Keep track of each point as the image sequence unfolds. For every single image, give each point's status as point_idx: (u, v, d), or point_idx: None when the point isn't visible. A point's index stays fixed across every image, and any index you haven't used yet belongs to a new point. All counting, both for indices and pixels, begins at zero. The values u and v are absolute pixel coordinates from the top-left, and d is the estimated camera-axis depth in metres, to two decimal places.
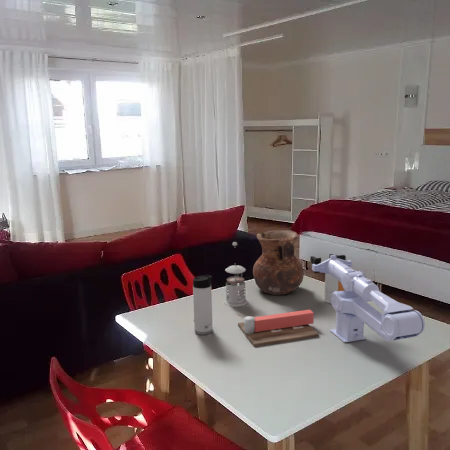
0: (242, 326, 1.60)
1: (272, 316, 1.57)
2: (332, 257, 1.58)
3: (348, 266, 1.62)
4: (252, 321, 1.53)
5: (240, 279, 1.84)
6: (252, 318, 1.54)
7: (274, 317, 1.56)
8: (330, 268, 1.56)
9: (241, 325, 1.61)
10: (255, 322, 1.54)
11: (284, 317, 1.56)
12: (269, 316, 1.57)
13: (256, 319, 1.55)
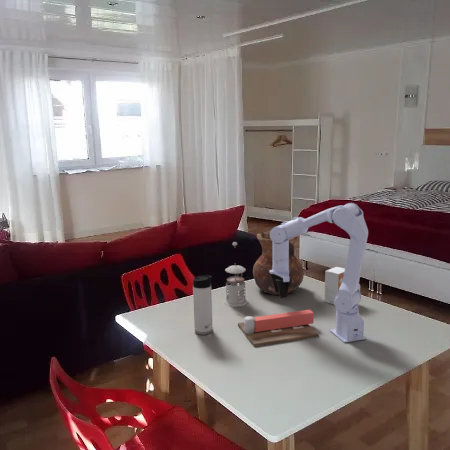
0: (242, 326, 1.60)
1: (272, 316, 1.57)
2: (271, 271, 1.63)
3: None
4: (252, 321, 1.53)
5: (240, 279, 1.84)
6: (252, 318, 1.54)
7: (274, 317, 1.56)
8: (280, 264, 1.61)
9: (241, 325, 1.61)
10: (255, 322, 1.54)
11: (284, 317, 1.56)
12: (269, 316, 1.57)
13: (256, 319, 1.55)
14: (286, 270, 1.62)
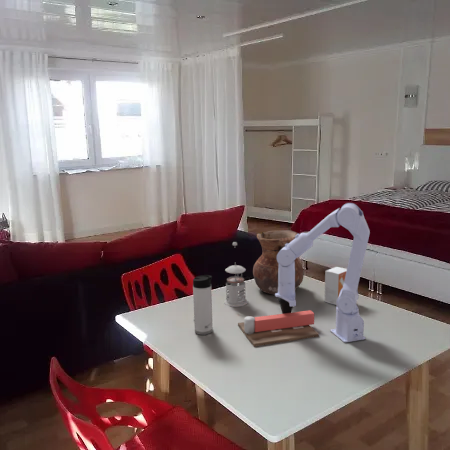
0: (242, 326, 1.60)
1: (273, 316, 1.57)
2: (277, 294, 1.58)
3: None
4: (252, 321, 1.53)
5: (240, 279, 1.84)
6: (252, 318, 1.54)
7: (274, 317, 1.56)
8: (286, 288, 1.56)
9: (241, 325, 1.61)
10: (255, 322, 1.54)
11: (284, 317, 1.56)
12: (269, 316, 1.57)
13: (256, 319, 1.55)
14: (292, 293, 1.57)
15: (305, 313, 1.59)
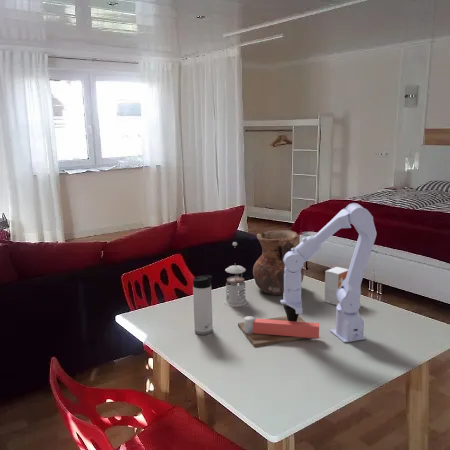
0: (242, 326, 1.60)
1: (274, 321, 1.53)
2: (283, 301, 1.52)
3: None
4: (249, 321, 1.53)
5: (240, 279, 1.84)
6: (252, 319, 1.54)
7: (274, 322, 1.52)
8: (292, 294, 1.49)
9: (241, 325, 1.61)
10: (253, 323, 1.53)
11: (284, 324, 1.50)
12: (271, 321, 1.53)
13: (256, 320, 1.54)
14: (298, 300, 1.51)
15: (309, 325, 1.49)
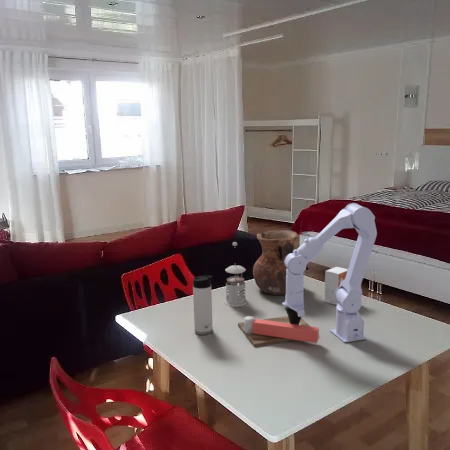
0: (242, 326, 1.60)
1: (274, 323, 1.52)
2: (285, 303, 1.50)
3: None
4: (249, 321, 1.53)
5: (240, 279, 1.84)
6: (251, 319, 1.54)
7: (273, 324, 1.51)
8: (295, 297, 1.47)
9: (241, 325, 1.61)
10: (252, 323, 1.53)
11: (283, 327, 1.49)
12: (270, 322, 1.52)
13: (255, 321, 1.53)
14: (301, 303, 1.48)
15: (308, 328, 1.47)
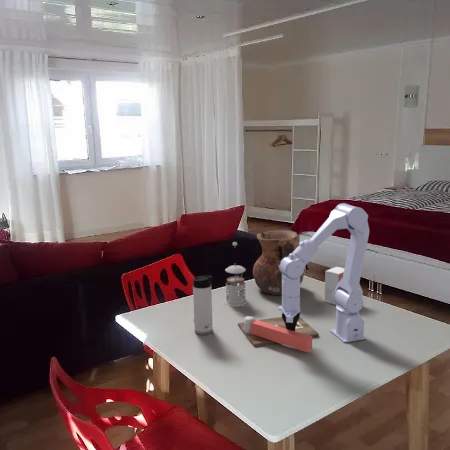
0: (242, 326, 1.60)
1: (270, 326, 1.49)
2: (280, 307, 1.47)
3: None
4: (247, 321, 1.53)
5: (240, 279, 1.84)
6: (251, 319, 1.54)
7: (269, 327, 1.48)
8: (288, 302, 1.43)
9: (241, 325, 1.61)
10: (250, 324, 1.53)
11: (277, 331, 1.46)
12: (268, 324, 1.50)
13: (254, 322, 1.53)
14: (295, 309, 1.44)
15: (300, 336, 1.41)
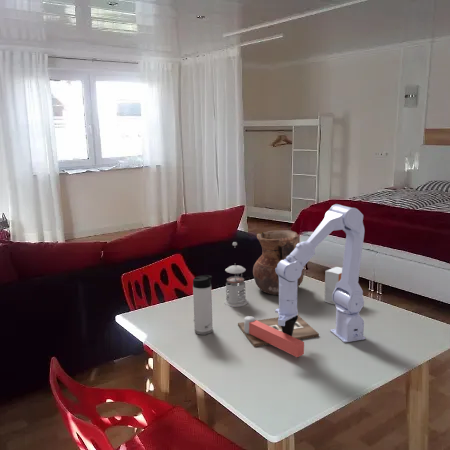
0: (242, 326, 1.60)
1: (267, 327, 1.48)
2: (277, 310, 1.45)
3: None
4: (246, 321, 1.53)
5: (240, 279, 1.84)
6: (250, 319, 1.53)
7: (265, 328, 1.47)
8: (283, 305, 1.41)
9: (241, 325, 1.61)
10: (249, 324, 1.53)
11: (271, 333, 1.44)
12: (265, 326, 1.49)
13: (253, 322, 1.52)
14: (290, 312, 1.41)
15: (292, 340, 1.39)
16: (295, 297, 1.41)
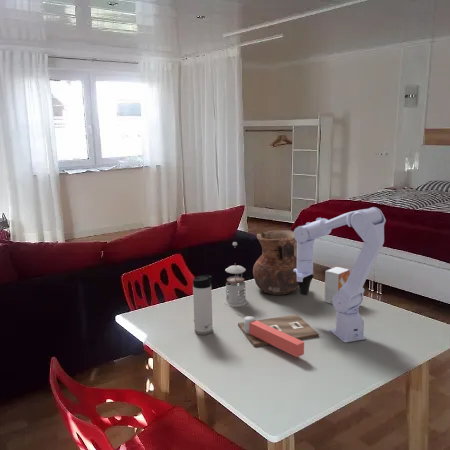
0: (242, 326, 1.60)
1: (267, 327, 1.48)
2: (295, 269, 1.64)
3: None
4: (246, 321, 1.53)
5: (240, 279, 1.84)
6: (250, 319, 1.53)
7: (265, 328, 1.47)
8: (300, 264, 1.61)
9: (241, 325, 1.61)
10: (249, 324, 1.53)
11: (271, 333, 1.44)
12: (265, 326, 1.49)
13: (253, 322, 1.52)
14: (306, 271, 1.61)
15: (292, 340, 1.39)
16: (302, 258, 1.60)
